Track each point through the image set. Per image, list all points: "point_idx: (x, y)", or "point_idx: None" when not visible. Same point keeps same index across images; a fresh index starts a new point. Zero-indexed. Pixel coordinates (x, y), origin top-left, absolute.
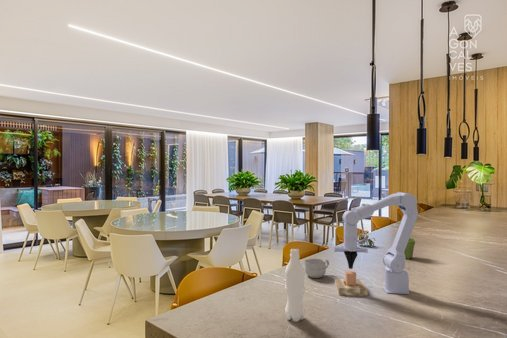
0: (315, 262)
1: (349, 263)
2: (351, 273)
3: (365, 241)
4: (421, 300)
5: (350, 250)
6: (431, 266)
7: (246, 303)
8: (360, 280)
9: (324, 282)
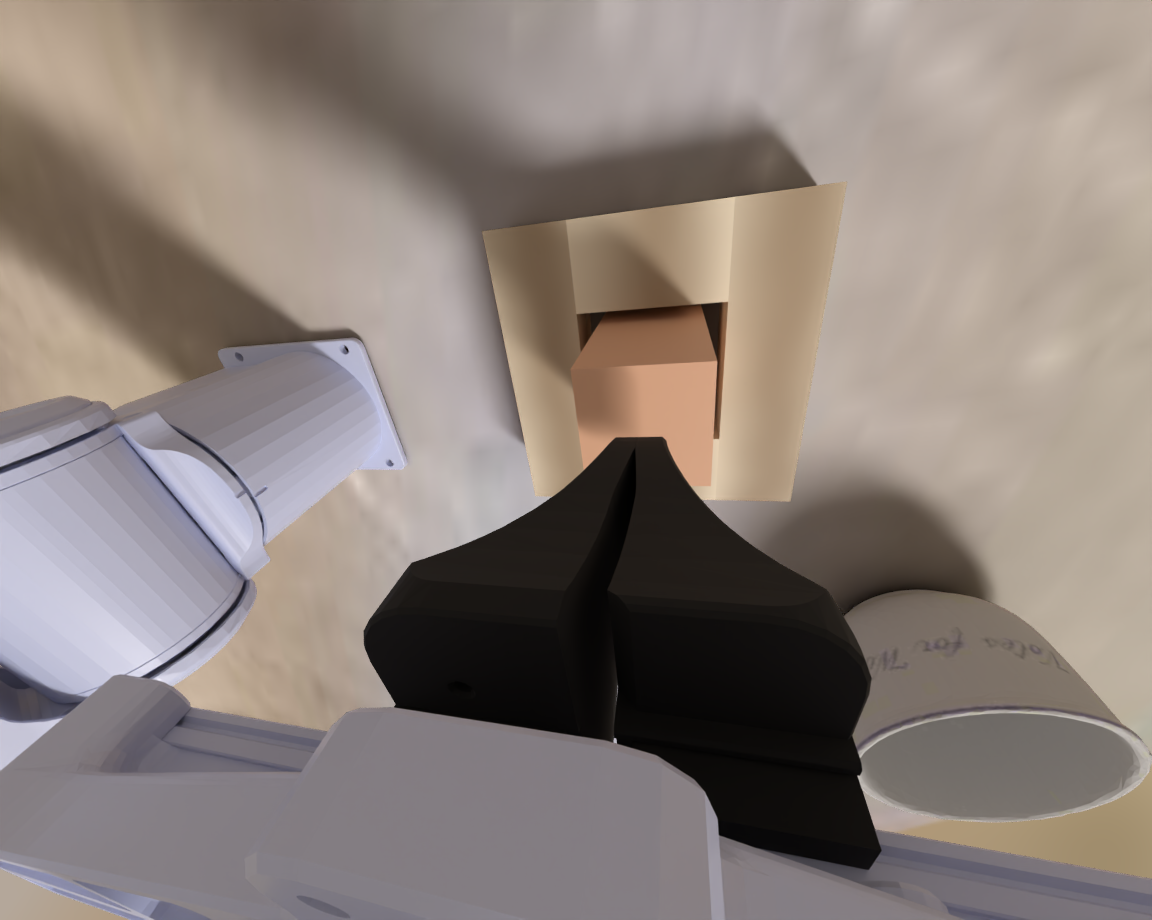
0: (914, 769)
1: (665, 473)
2: (639, 372)
3: None
4: (124, 237)
5: (631, 850)
6: (245, 702)
7: None
8: (545, 472)
9: (865, 511)
